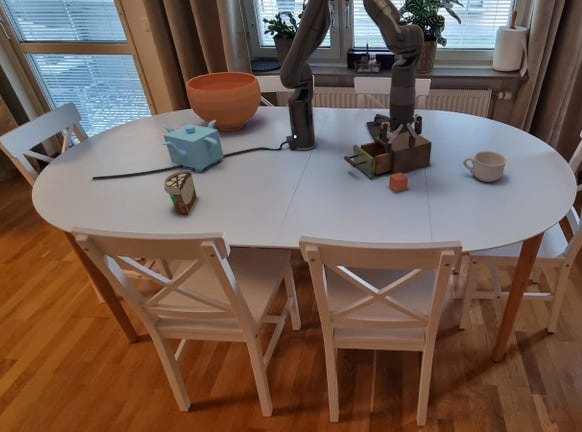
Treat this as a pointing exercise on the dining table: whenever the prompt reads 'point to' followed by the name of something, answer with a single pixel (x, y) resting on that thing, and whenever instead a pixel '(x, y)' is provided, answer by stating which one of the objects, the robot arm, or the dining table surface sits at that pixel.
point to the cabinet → (408, 153)
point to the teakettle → (194, 145)
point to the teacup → (487, 165)
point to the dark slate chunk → (377, 124)
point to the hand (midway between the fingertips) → (399, 150)
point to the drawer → (371, 158)
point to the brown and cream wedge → (181, 191)
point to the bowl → (224, 98)
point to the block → (398, 182)
